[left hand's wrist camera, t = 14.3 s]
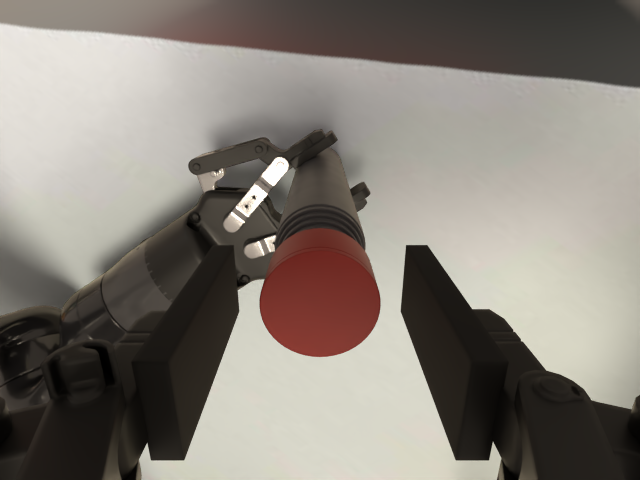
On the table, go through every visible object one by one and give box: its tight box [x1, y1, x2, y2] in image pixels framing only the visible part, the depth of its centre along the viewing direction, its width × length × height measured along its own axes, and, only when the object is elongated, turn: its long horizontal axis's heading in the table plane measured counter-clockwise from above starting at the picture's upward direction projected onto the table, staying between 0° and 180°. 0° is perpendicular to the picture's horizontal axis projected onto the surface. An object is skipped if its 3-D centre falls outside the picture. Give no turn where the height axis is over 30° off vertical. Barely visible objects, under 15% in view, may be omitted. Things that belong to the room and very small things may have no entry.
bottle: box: [275, 147, 365, 251], centre depth 25 cm, size 4×4×25 cm
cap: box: [260, 228, 380, 357], centre depth 14 cm, size 4×4×2 cm
